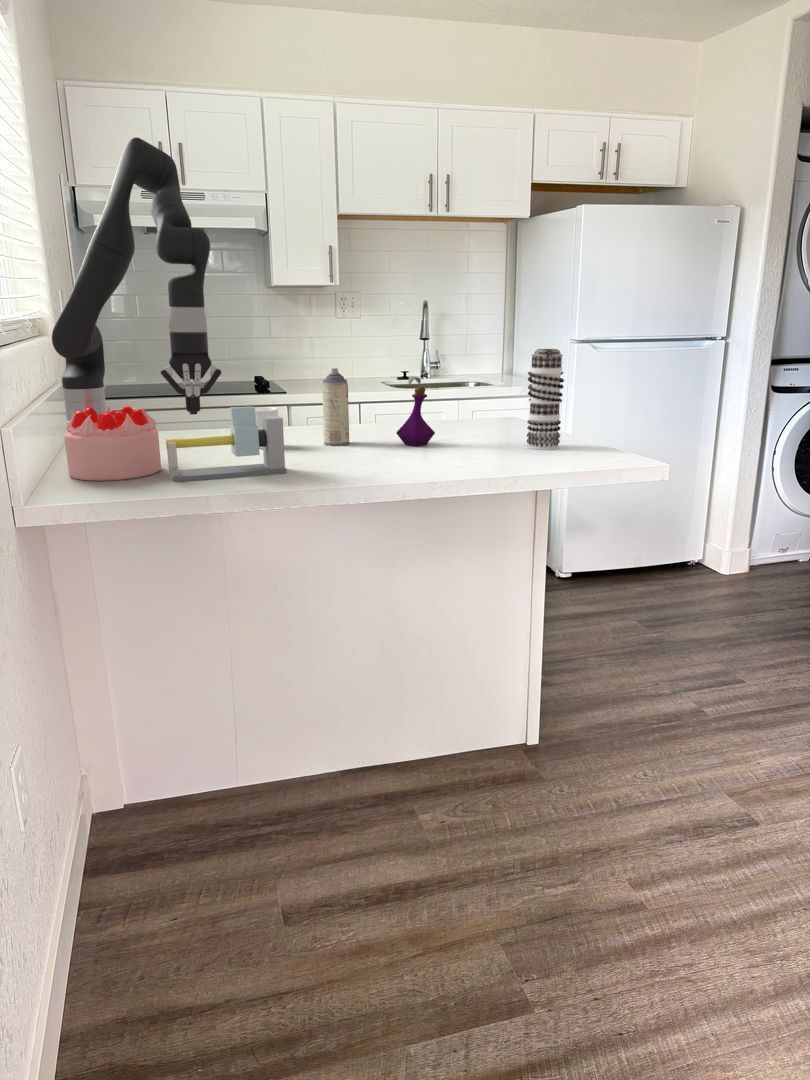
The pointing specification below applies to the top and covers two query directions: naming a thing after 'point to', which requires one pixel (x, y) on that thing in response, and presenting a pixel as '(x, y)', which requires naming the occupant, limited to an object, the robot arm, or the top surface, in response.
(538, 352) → the decorative candle
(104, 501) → the top surface
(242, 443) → the sleeve
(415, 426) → the perfume bottle
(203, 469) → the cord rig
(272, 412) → the white cup
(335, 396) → the aerosol can
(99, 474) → the cake
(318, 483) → the top surface
